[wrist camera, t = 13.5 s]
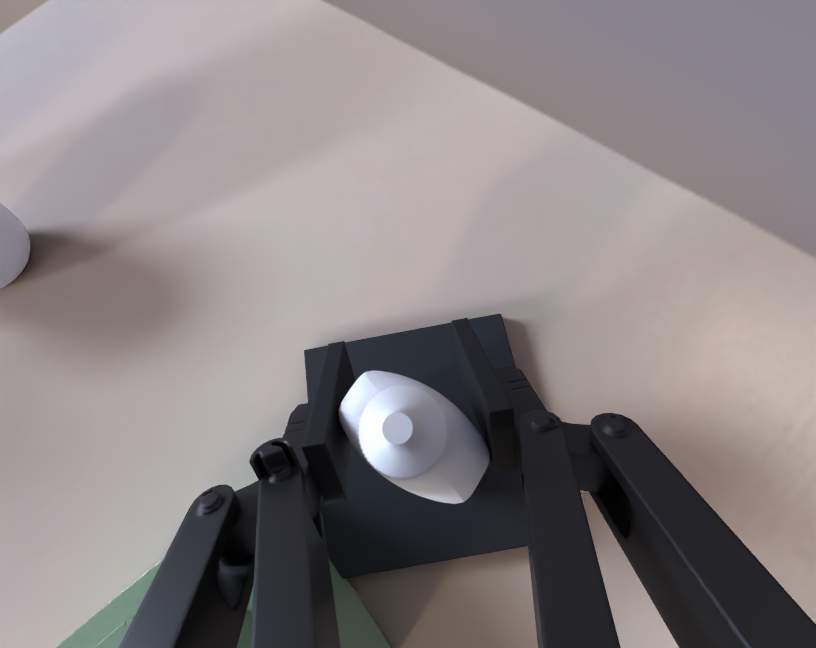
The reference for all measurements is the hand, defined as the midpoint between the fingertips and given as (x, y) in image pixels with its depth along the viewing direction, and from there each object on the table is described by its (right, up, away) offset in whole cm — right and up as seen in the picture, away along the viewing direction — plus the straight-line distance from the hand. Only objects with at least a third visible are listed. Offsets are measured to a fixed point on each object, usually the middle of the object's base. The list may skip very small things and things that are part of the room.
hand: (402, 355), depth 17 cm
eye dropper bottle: (+1, -5, +2) cm, 5 cm away
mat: (+1, -5, +3) cm, 6 cm away
